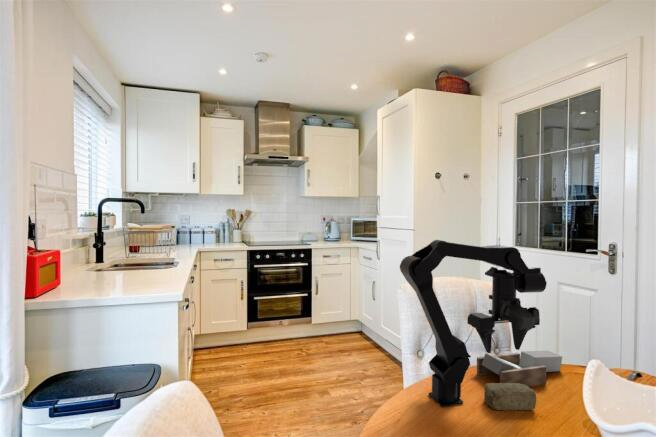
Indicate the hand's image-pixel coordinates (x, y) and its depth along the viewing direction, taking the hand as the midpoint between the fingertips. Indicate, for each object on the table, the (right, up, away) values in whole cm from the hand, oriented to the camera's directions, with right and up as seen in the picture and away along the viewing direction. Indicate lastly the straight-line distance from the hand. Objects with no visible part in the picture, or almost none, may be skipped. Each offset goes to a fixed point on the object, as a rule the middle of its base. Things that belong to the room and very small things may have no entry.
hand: (502, 351), depth 96 cm
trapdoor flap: (+6, -11, +10) cm, 16 cm away
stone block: (-1, -13, -5) cm, 13 cm away
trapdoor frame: (+7, -12, +10) cm, 17 cm away
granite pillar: (+13, -8, +12) cm, 20 cm away
